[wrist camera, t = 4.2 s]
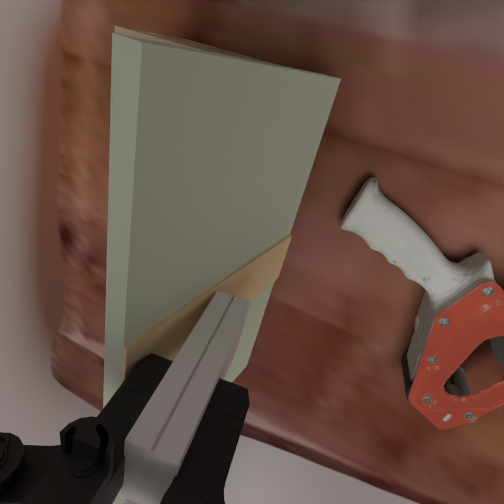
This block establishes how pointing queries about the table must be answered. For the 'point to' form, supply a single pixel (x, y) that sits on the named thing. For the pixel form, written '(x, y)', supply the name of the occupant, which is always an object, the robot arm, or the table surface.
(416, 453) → the table surface
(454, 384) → the tape dispenser
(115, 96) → the lid
